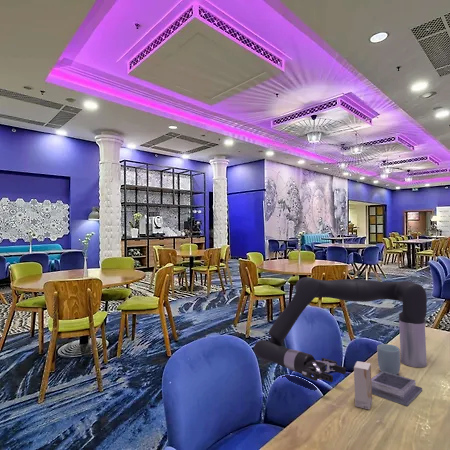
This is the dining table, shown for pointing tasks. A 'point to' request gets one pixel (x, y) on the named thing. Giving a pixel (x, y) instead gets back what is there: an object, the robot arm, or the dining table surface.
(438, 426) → the dining table surface
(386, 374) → the tray
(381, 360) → the cup
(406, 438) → the dining table surface
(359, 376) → the skincare box
